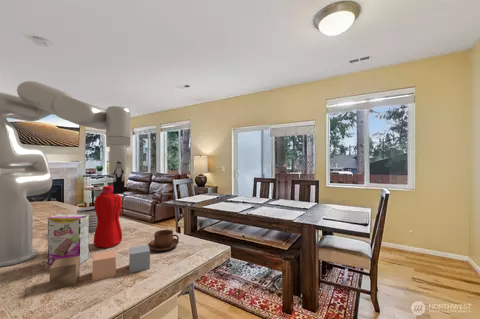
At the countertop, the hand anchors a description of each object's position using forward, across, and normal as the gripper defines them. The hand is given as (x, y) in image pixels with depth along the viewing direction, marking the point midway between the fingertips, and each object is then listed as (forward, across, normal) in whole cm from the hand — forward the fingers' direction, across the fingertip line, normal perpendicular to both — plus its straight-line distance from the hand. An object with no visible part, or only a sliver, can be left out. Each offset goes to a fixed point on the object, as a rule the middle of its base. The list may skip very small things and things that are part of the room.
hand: (118, 191), depth 77 cm
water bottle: (+25, -21, -3) cm, 33 cm away
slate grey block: (+25, +6, +6) cm, 27 cm away
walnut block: (+25, +5, -14) cm, 29 cm away
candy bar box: (+25, -10, -15) cm, 31 cm away
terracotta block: (+25, +6, -4) cm, 26 cm away
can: (+25, -48, -12) cm, 55 cm away
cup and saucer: (+26, -8, +16) cm, 31 cm away
